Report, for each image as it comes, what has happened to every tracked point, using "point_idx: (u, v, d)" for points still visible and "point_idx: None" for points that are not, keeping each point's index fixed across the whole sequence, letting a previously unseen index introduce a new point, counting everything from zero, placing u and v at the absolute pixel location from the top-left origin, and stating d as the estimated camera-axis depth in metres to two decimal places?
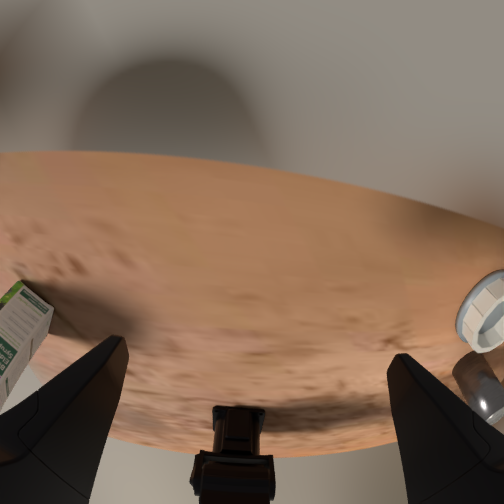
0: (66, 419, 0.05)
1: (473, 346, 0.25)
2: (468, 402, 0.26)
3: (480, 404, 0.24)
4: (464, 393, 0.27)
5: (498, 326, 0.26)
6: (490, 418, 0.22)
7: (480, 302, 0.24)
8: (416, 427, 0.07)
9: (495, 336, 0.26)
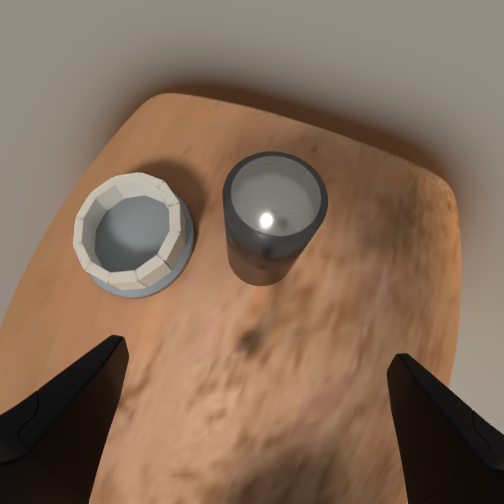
0: (66, 419, 0.05)
1: (138, 277, 0.20)
2: (272, 267, 0.18)
3: (242, 248, 0.16)
4: (264, 273, 0.19)
5: None
6: (255, 218, 0.14)
7: None
8: (416, 427, 0.07)
9: None
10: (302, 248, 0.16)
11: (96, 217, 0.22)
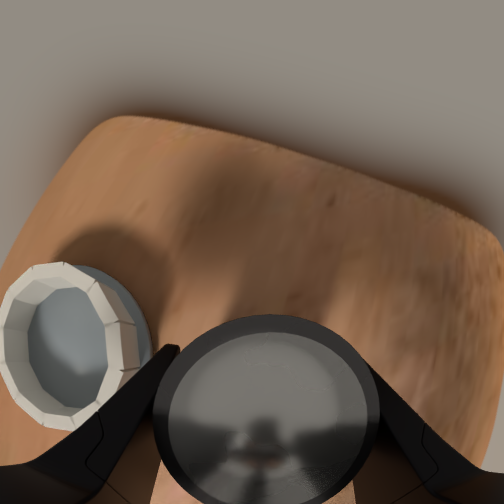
0: (136, 440, 0.05)
1: (76, 426, 0.11)
2: None
3: None
4: None
5: None
6: (224, 483, 0.05)
7: None
8: None
9: None
10: None
11: (23, 318, 0.14)
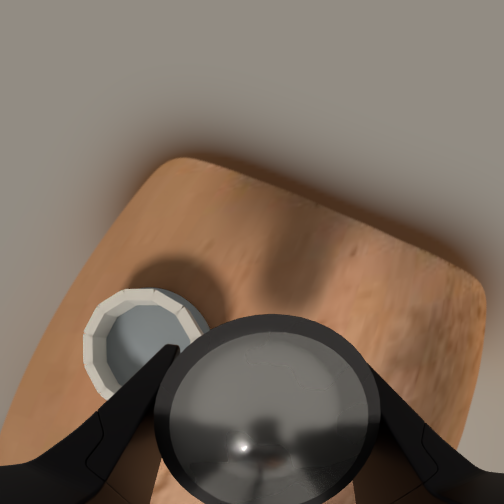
0: (136, 440, 0.05)
1: None
2: None
3: None
4: None
5: None
6: (225, 483, 0.05)
7: None
8: None
9: None
10: None
11: (106, 328, 0.20)
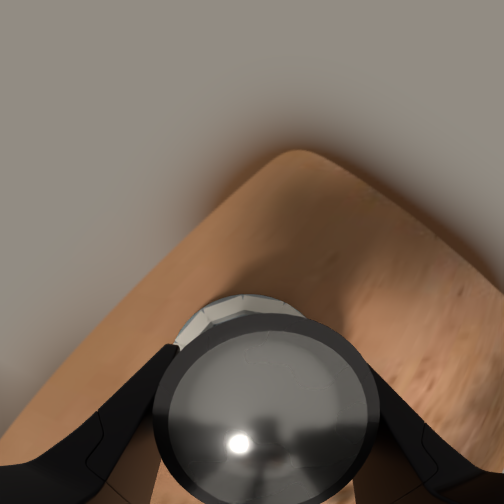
0: (136, 440, 0.05)
1: None
2: None
3: None
4: None
5: None
6: (224, 482, 0.05)
7: None
8: None
9: None
10: None
11: None
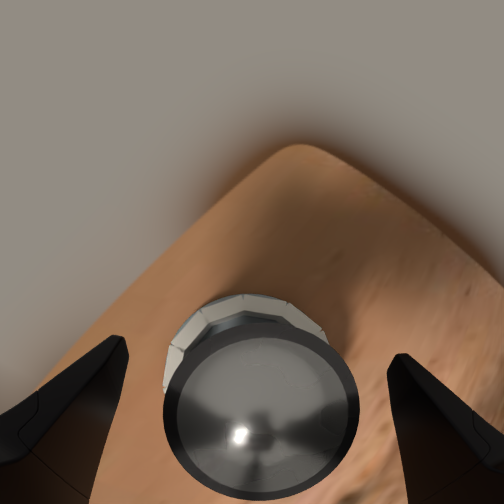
0: (66, 419, 0.05)
1: None
2: None
3: None
4: None
5: None
6: (224, 468, 0.06)
7: None
8: (416, 427, 0.07)
9: None
10: None
11: (198, 339, 0.16)
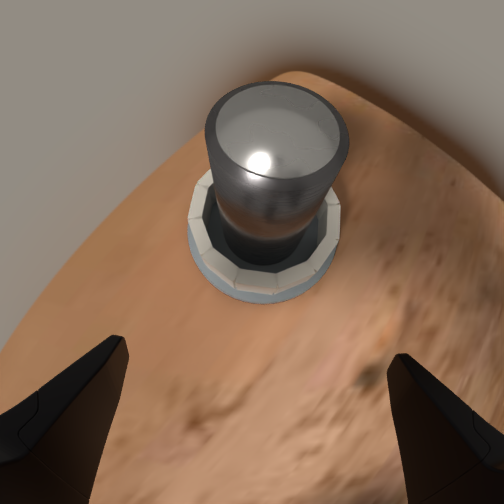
0: (66, 419, 0.05)
1: (278, 283, 0.16)
2: (278, 233, 0.13)
3: (235, 207, 0.12)
4: (267, 244, 0.15)
5: None
6: (250, 156, 0.09)
7: None
8: (416, 427, 0.07)
9: (323, 220, 0.18)
10: (317, 204, 0.12)
11: None
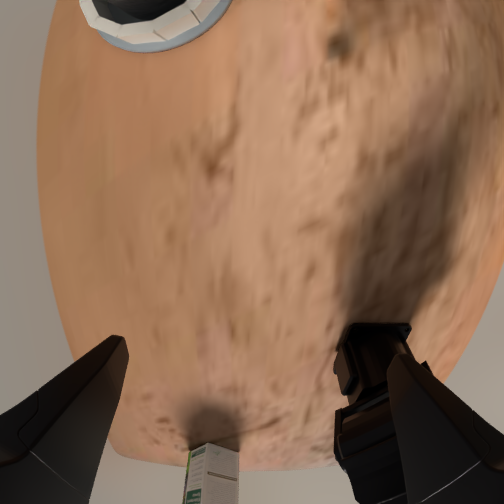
0: (66, 419, 0.05)
1: (191, 8, 0.11)
2: None
3: None
4: None
5: None
6: None
7: None
8: (416, 427, 0.07)
9: None
10: None
11: None
